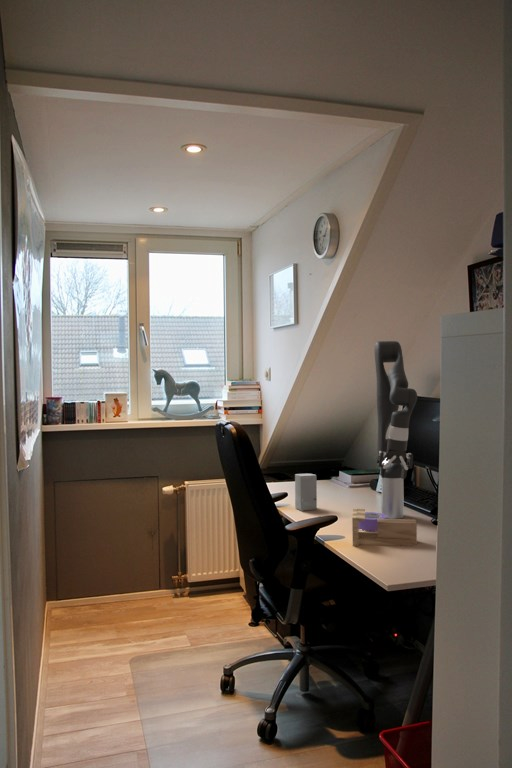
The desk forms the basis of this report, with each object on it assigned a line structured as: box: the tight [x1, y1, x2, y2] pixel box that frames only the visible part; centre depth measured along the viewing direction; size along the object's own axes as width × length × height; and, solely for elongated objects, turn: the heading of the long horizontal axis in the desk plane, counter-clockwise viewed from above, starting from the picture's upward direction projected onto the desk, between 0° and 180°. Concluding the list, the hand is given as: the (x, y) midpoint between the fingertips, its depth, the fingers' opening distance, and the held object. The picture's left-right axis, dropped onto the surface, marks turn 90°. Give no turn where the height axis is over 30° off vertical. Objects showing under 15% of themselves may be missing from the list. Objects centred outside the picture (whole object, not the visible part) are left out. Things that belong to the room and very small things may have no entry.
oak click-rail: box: [351, 508, 413, 547], centre depth 235 cm, size 14×21×10 cm, turn 80°
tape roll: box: [359, 511, 388, 532], centre depth 254 cm, size 12×12×5 cm
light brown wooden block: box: [376, 518, 418, 545], centre depth 234 cm, size 5×14×8 cm, turn 80°
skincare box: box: [294, 473, 318, 512], centre depth 286 cm, size 8×7×16 cm
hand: (392, 478), depth 251 cm, fingers open, 8 cm apart
